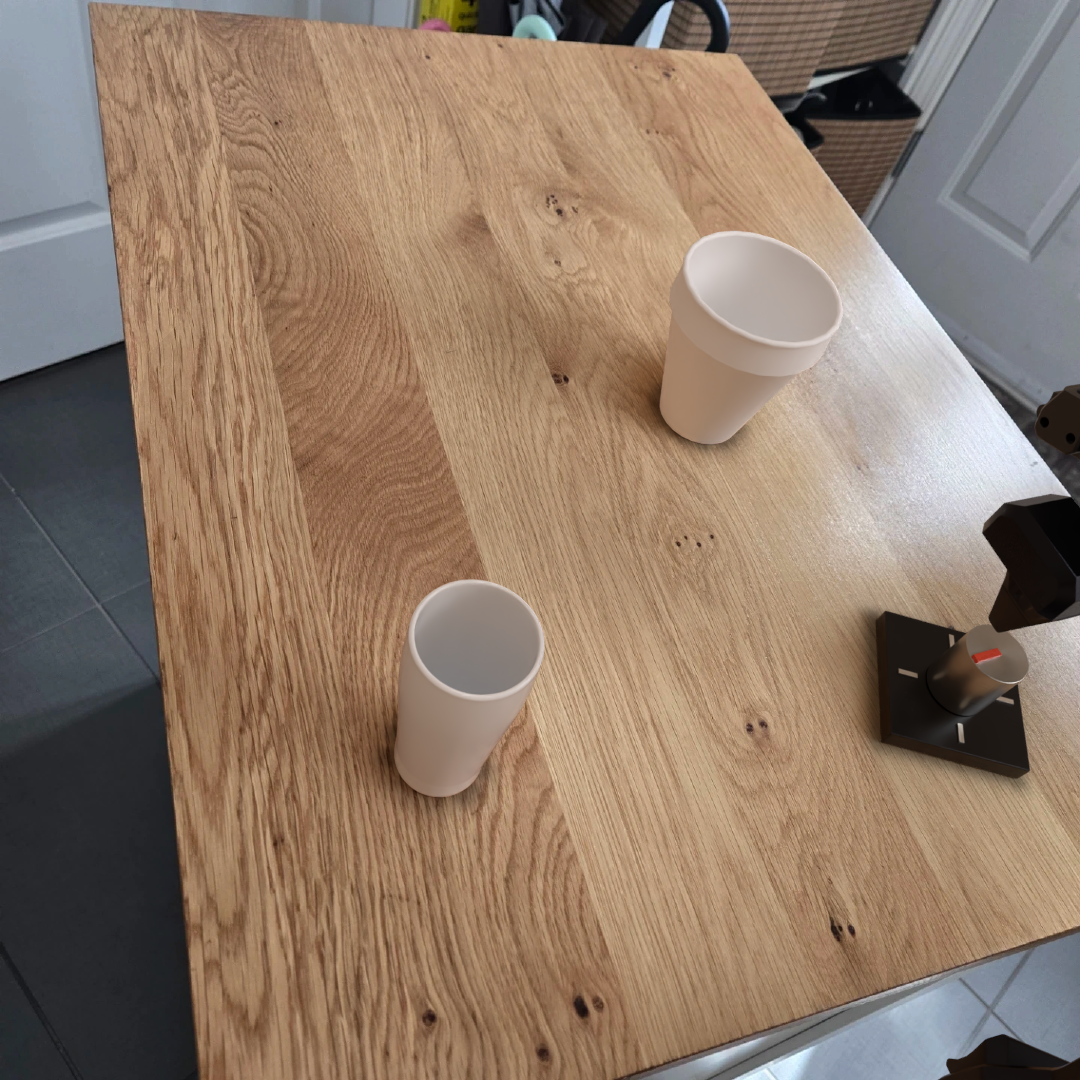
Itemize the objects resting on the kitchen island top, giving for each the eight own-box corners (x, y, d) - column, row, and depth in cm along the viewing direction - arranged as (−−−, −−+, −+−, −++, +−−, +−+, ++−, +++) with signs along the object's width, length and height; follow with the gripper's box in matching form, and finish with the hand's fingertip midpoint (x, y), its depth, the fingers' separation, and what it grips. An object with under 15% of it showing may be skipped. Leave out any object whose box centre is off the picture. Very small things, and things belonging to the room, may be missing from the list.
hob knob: (961, 653, 69) (1006, 616, 65) (996, 707, 67) (1044, 672, 63) (914, 666, 68) (956, 629, 63) (948, 722, 66) (994, 688, 61)
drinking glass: (357, 772, 56) (378, 651, 44) (420, 686, 60) (455, 553, 48) (455, 835, 56) (503, 728, 44) (513, 743, 60) (571, 622, 48)
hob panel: (1017, 779, 66) (1032, 770, 65) (880, 742, 65) (892, 732, 64) (1000, 655, 72) (1014, 644, 71) (875, 620, 71) (886, 608, 70)
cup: (666, 338, 84) (723, 207, 74) (789, 408, 83) (866, 284, 72) (601, 417, 77) (654, 284, 66) (734, 496, 75) (811, 373, 65)
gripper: (1264, 316, 54) (1081, 487, 66) (1016, 346, 47) (863, 529, 60) (1418, 471, 48) (1187, 624, 61) (1162, 528, 42) (961, 688, 54)
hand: (1050, 611), depth 59 cm, fingers open, 9 cm apart
